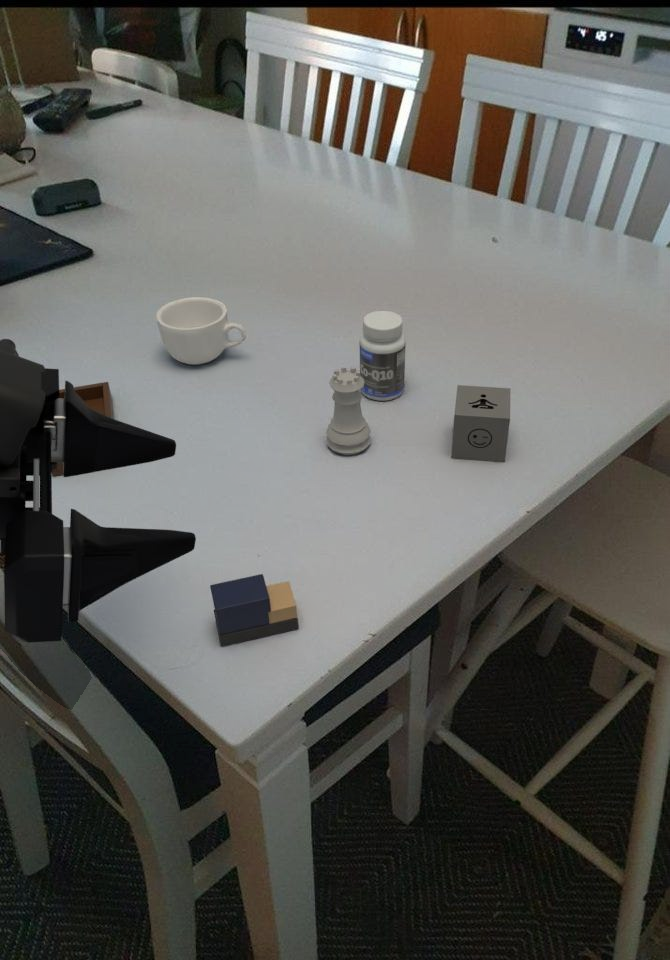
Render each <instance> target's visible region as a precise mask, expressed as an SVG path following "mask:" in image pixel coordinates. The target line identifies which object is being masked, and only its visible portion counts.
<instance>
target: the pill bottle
mask: <svg viewBox="0 0 670 960" xmlns="http://www.w3.org/2000/svg"><path fill="white" fill-rule="evenodd" d="M403 322H404V321H403V318H402V316H401V315H400V314H398V313H396V312H393V311H389V310H375V311H373V312H370V313H368V314H366V315H365V316H364V317H363V320H362V333H361V335H360V338H359V345H358V346H359V371H360V376H361V377H362V378H363V380H364V386H363V387H362V388H361V389H360V392H361V394H362V395H363V396H365V397H366V398H368V399H370V400H374V401H379V402H386V401H387V402H388V401H391V400H394V399H397V398H399V397H400V396H401V395H402V394H403V393H404V390H405V378H406V377H405V376H406V375H405V374H406V348H407V347H406V345H407V341H406V336H405V335H404V334H403V330H404V329H403V325H404V323H403Z"/></svg>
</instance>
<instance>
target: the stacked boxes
mask: <svg viewBox="0 0 670 960" xmlns="http://www.w3.org/2000/svg"><path fill="white" fill-rule="evenodd" d="M209 587H210V592H211V596H212V603H213V608H214V609H213V614H214V619H215V620H214V621H215V625H216V630H217V635H218V639H219V645H220V647H222V648H223V647H227V646H231V645H235V644H239V643H244V642H247V641H252V640H256V639H261V638H265V637H266V638H267V637H269V636H274V635H279V634H283V633H286V632H291V631H295V630H298V629H299V628H300V627H299V619H298V608H297V603H296V601H295V600H296V599H295V597H294V594H293V589H292V587H291V584H290V581H283V582H279V583H273V584H269V585H267V584H266V580H265V576H264V574H263V573H261V574H255V575H251V576H246V577H241V578H237V579H233V580H228V581H224V582H223V581H222V582H219V583H214V584H210V586H209Z"/></svg>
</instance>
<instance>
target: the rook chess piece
mask: <svg viewBox="0 0 670 960" xmlns="http://www.w3.org/2000/svg"><path fill="white" fill-rule="evenodd" d="M349 369H350V370H347V366H340V370H339V369H338V368H336V369H335V370H333V374H332V377H331V378H330V379H329V381H328V384H329V387H330V388H331V390H333V391H334V392H333V393H332V400H333V401H334V409H333V417H332V418H330V419H331V420H330V422H329V424H328V426H327V429H326V432H325V434H326V438H325V442H326V445H327V447H329V448H330V449H331V450H332V451H333V452H334V453H337V454H338V455H339V454H340V455H343V456H352V455H358V454H360V453H362V452H364V450H366V449H367V448H368V447H369V446H370V444H371V443H372V436H371V428H370V426H369V424H368V422H367V421H366V418H365V417H364V416H363V412H362V407H361V400H362V398H363V393H362V392H361V388H362V387H363V386H364V380H363V378H362V377H361V376H360V370H357V368H356V367H353V366H351V367H350V368H349Z"/></svg>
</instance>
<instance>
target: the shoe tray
mask: <svg viewBox="0 0 670 960" xmlns="http://www.w3.org/2000/svg"><path fill="white" fill-rule="evenodd" d="M74 390H75V392H76V393H77V394H78V395H79V396H80V397H81V398H82V400H83V401H84V402H85V403H86V404H87V405H88V406H89V407H90V408H91V409H92V410H94V411H96V412H98V413H100V414H103V415H105V416H107V417H110V418H112V419H115V415H114V405H113V396H112V392H111V388H110V383H109V381H104V382H98V383H92V384H85V385H79V386H74ZM59 398H64V399H65V388H62V389H59ZM51 474H52V477H57V476H62V475H63V462H57V469H55V470H53V471H51Z"/></svg>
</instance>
